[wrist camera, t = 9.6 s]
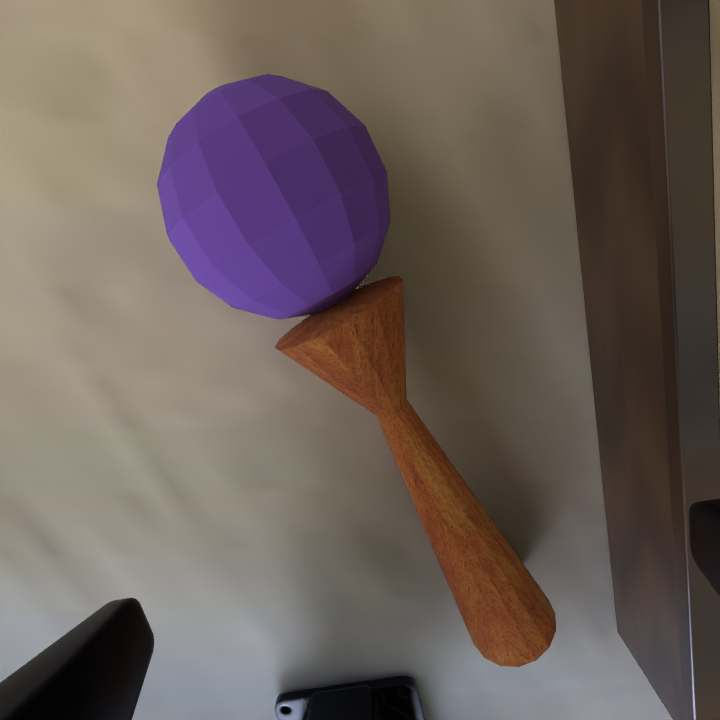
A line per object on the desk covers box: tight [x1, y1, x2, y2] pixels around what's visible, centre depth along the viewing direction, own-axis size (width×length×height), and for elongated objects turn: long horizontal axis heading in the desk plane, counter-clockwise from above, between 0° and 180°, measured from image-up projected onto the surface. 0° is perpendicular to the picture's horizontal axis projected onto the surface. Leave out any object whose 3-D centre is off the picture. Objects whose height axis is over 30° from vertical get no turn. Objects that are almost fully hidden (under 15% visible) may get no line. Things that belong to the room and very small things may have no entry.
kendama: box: [157, 74, 556, 667], centre depth 14 cm, size 6×6×20 cm
